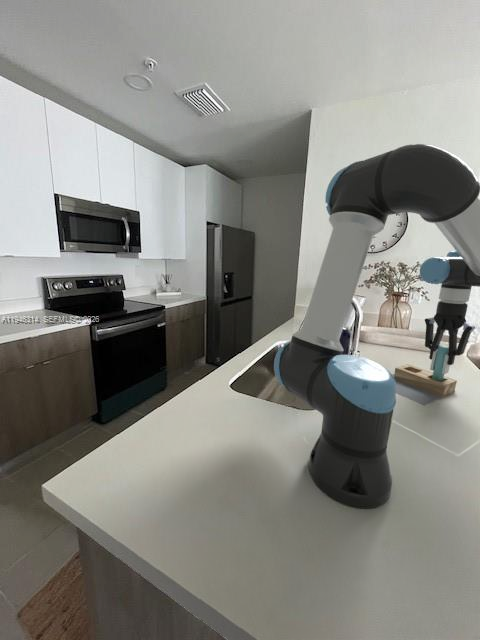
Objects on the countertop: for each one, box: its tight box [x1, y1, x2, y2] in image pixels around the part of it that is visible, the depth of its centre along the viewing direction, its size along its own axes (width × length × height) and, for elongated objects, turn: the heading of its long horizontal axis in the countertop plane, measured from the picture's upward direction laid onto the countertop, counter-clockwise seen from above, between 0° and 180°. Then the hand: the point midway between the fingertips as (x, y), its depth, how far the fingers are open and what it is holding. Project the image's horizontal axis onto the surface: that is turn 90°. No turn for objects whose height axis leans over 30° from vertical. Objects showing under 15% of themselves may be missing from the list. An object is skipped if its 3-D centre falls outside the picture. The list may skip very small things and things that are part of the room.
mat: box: [392, 373, 452, 406], centre depth 94 cm, size 20×18×1 cm
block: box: [393, 363, 458, 398], centre depth 95 cm, size 8×16×4 cm, turn 30°
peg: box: [432, 344, 449, 382], centre depth 90 cm, size 3×3×14 cm
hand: (439, 371), depth 91 cm, fingers closed on peg, 3 cm apart
